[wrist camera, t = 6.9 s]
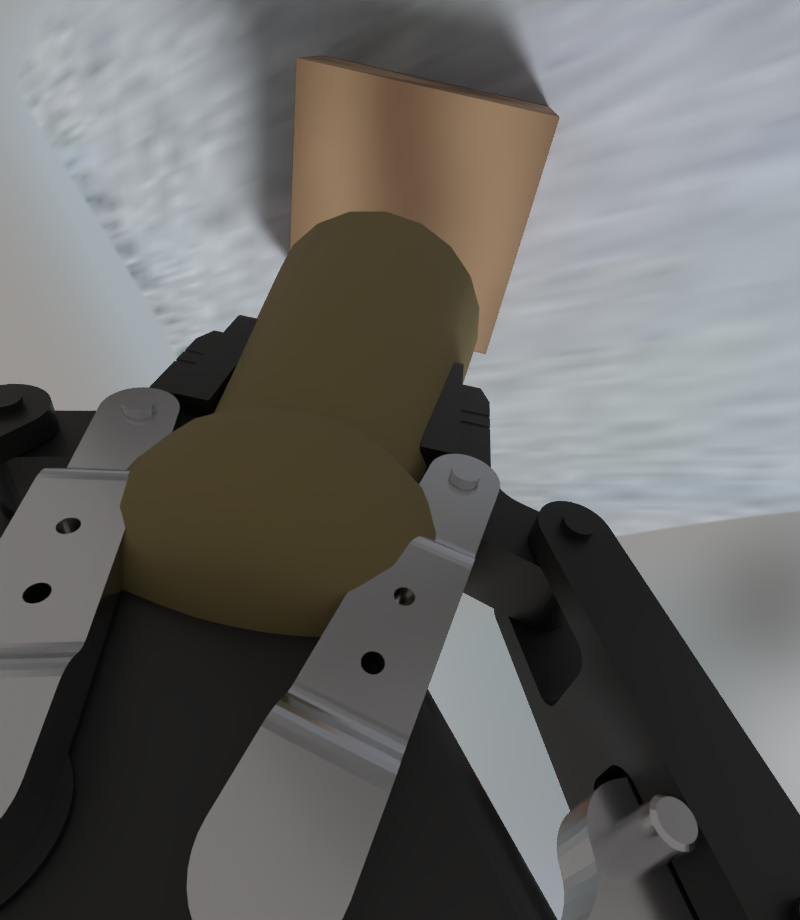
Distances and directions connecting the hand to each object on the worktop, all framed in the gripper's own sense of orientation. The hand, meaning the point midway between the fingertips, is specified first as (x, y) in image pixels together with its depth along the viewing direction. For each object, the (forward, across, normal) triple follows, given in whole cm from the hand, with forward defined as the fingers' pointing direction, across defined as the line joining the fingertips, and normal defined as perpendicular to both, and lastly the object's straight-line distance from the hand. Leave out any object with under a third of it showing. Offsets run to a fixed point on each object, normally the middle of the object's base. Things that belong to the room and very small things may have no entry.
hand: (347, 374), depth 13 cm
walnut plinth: (+17, 0, 0) cm, 17 cm away
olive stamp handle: (+3, 0, 0) cm, 3 cm away
